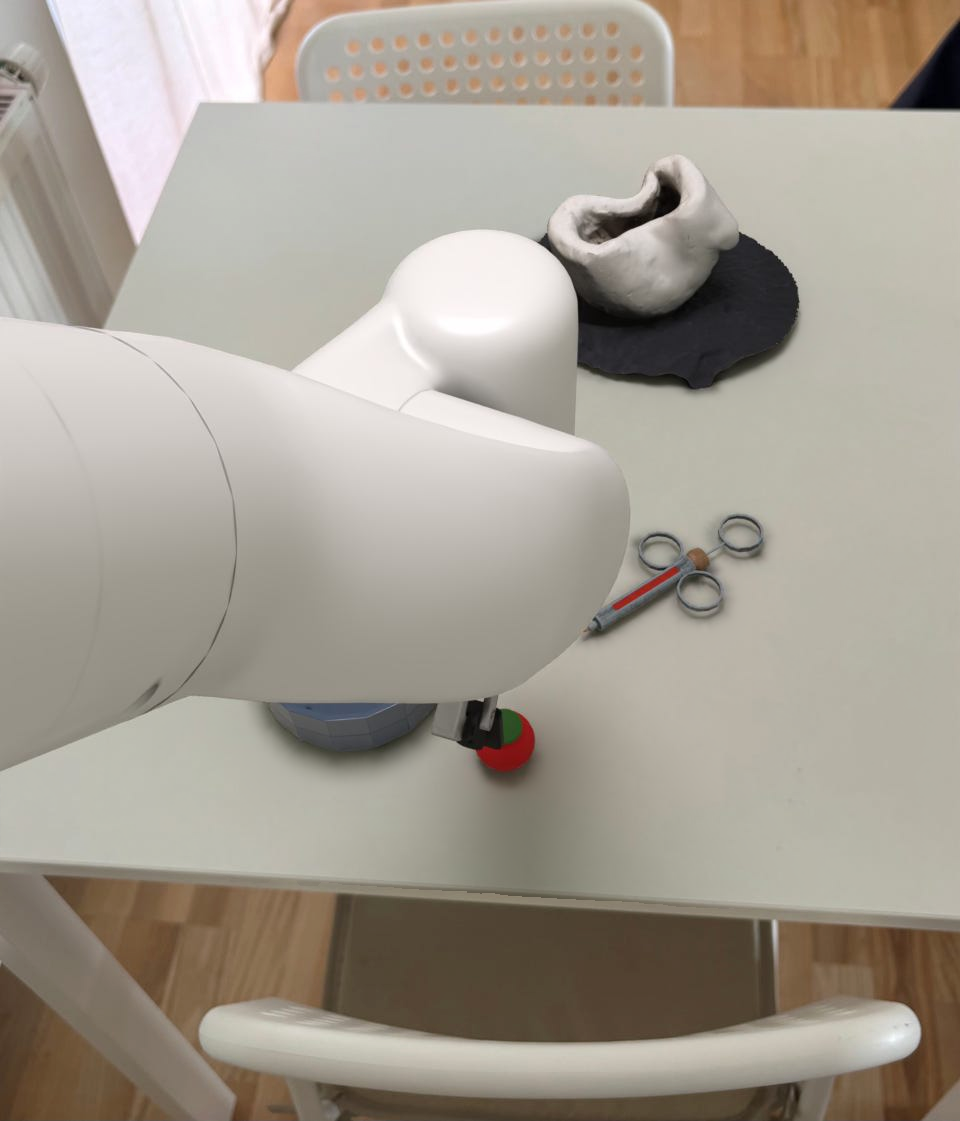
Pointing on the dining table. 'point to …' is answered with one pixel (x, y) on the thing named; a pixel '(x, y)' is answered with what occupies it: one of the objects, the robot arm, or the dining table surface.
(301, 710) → the bowl
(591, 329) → the sculpture
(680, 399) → the dining table surface
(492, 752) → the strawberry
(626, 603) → the syringe
